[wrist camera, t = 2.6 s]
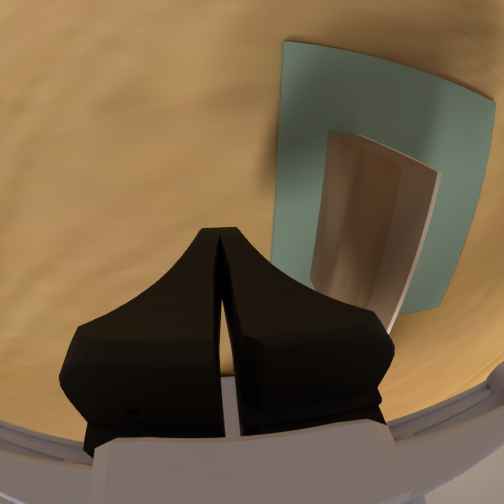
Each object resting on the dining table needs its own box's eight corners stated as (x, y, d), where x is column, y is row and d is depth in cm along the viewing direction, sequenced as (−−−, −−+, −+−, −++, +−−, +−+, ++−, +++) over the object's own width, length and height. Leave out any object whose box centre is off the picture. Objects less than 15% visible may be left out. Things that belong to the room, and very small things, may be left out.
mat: (435, 304, 20) (438, 307, 20) (265, 326, 18) (266, 331, 18) (491, 102, 12) (495, 103, 11) (281, 42, 10) (284, 41, 10)
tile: (335, 275, 17) (379, 355, 11) (309, 277, 16) (346, 361, 11) (359, 134, 12) (441, 172, 7) (328, 131, 12) (402, 167, 7)
